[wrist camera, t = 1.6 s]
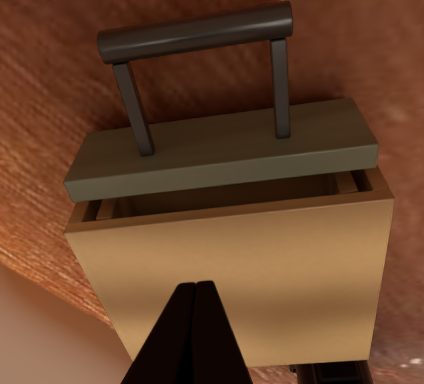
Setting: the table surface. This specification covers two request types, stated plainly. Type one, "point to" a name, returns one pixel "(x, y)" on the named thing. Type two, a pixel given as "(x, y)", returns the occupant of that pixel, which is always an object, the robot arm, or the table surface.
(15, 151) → the table surface
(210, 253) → the drawer unit
